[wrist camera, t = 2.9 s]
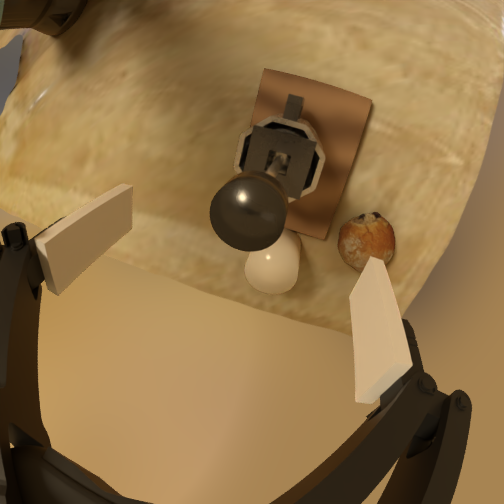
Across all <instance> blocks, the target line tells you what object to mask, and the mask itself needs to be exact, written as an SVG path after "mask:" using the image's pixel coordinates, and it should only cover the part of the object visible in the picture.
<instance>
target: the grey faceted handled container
mask: <svg viewBox="0 0 504 504" xmlns="http://www.w3.org/2000/svg"><path fill="white" fill-rule="evenodd" d="M304 101H305V99H304V97H300V96H296V95H293V94H289V95H288V98H287V102H286V106H285V110H284V114H282V113H281V114H276V115H272V116H269V117H268V118H266V119H264V120H262V121H261V122H259V123H257V124H256V125H254V126H252V127H251V128H249V129H247V130H246V131H244V132H242V133H241V134H240V137H239V141H238V146H237V151H236V156H235V160H234V165H233V166H235V167H234V169H235V170H236V172H237V174H239V173H241V172H244V171H251V170H255V171H262V172H266V171H267V169H265V168H266V164H267V160H268V156H269V152H270V150H273V151H277V152H280V153H284V154H287V155H291V158H290V162H289V166H288V169H287V173H286V174H283V173H280V172H278V174H277V176H276V179H277V180H278V181H279V182H280V183H281V184H282V186H283V187H284V189H285V191H286V193H287V196H288V201H289V203H290V202H292V201H294V200H296V199H297V200H300V197H302V196H304V195H306V194H309V193H311V192H313V191H315V190H314V189H316V186H317V183H318V180H319V177H320V174H321V171H322V168H323V165H324V162H325V154H324V150H323V146H322V143H321V142H320V140H319V138H318V135H317V133H316V131H315V130H314V128H313V127H312V126H311V124H310V123H309V121H308V120H304V119H302V118H300V116H301V112H302V109H303V105H304ZM274 128H285V129H289V130H292V131H294V132H296V133H297V134H299V135H300V136H297V135H294V134H290V133H287V132H283V131H279V130H275V129H274ZM310 165H311V167H310ZM309 168H310V170H309ZM308 171H309V173H308Z"/></svg>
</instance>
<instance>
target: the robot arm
mask: <svg viewBox="0 0 504 504" xmlns="http://www.w3.org/2000/svg"><path fill="white" fill-rule="evenodd" d="M86 3H87V0H0V30H5V29H19V28H33V29H35V30H37V31H39V32H41V33H44V34H46V35H59V34H61V33H63V32H65V31H66V30H67V29H69V28H70V27H71V26H72V25H73V24H74V22H75V21H76V20H77V19H78V17H79V16H80V14H81V13H82V11H83V9H84V7H85V5H86ZM132 193H133V186H131V185H127V184H123V183H122V184H120V185H118V186H116V187H115V188H113V189H111V190H109V191H107V192H106V193H104V194H102V195H100V196H99V197H97V198H95V199H94V200H92V201H90V202H89V203H87V204H85V205H84V206H82V207H80V208H79V209H77V210H76V211H74V212H72V213H71V214H69V215H68V216H65V217H63V218H61V219H59V220H58V221H56V222H54V224H52V225H50V226H49V227H48V228H46V229H44V230H43V231H41V232H40V233H39V234H37V235H36V236H34V237H33V238H32V239H30V240H28V236H27V231H26V226H25V224H24V223H22V222H15V223H11V224H9V225H8V226H6V227H5V228H4V229H3V230H2V231H1V233H2V237H3V241H4V245H1V242H0V504H153V503H148V502H143V501H139V500H134V499H130V498H126V497H123V496H122V495H120V494H119V493H118V492H116V491H115V490H114V489H113V488H112V487H110V486H109V485H108V484H107V483H105V482H104V481H103V480H102V479H101V478H100V477H98V476H96V475H95V474H93V473H91V472H90V471H88V470H86V469H85V468H83V467H81V466H80V465H78V464H77V463H75V462H73V461H72V460H70V459H68V458H67V457H65V456H63V455H62V454H60V453H59V452H57V451H56V450H54V449H52V448H51V444H50V439H49V436H48V434H47V431H46V430H45V428H44V426H43V423H42V419H41V411H40V401H39V388H38V363H37V362H38V360H37V359H38V357H37V356H38V351H37V350H38V327H39V313H40V303H41V294H42V286H41V283H42V282H43V281H44V280H45V282H46V285H47V288H48V290H49V291H51V292H53V293H54V294H56V295H58V296H59V294H61V293H62V291H64V290H65V289H66V288H67V287H68V286H69V285H70V284H71V283H72V282H73V281H74V280H75V279H76V278H77V277H78V276H79V275H80V274H81V273H82V272H83V271H85V270H86V269H87V268H88V267H89V266H90V265H91V264H92V263H93V262H94V261H95V260H96V259H97V258H99V257H100V256H101V255H102V254H103V253H104V252H106V251H107V250H108V249H109V248H110V247H111V246H112V245H114V244H115V243H116V242H117V241H118V240H119V239H121V238H122V237H123V236H124V235H125V234H127V233H128V232H129V231H130V230H131V229H132ZM349 300H350V310H351V321H352V333H353V347H354V362H355V363H354V365H355V398H356V399H355V401H356V402H361V403H369V404H372V403H373V402H374V401H376V400H377V399H378V398H379V397H380V406H379V407H377V408H376V409H375V410H374V411H372V412H371V413H370V414H369V415H368V416H366V417H367V419H366V421H365V422H364V423H363V424H362V425H361V426H360V427H359V428H358V429H357V430H356V431H355V432H354V433H353V434H352V435H351V436H350V437H349V438H348V439H347V440H346V441H345V442H344V443H343V444H342V445H341V446H340V447H339V448H338V449H337V450H336V451H335V452H334V453H333V454H332V455H331V456H330V457H328V458H327V459H326V460H325V461H324V462H323V463H322V464H321V465H319V466H318V467H317V468H316V469H315V470H314V471H313V472H311V473H310V474H309V475H308V476H306V477H305V478H304V479H303V480H301V481H300V482H299V483H297V484H296V485H295V486H294V487H292V488H291V489H290V490H289V491H287V492H285V493H284V494H283V495H281V496H280V497H279V498H277V499H276V500H274V501H273V502H271V503H270V504H361V503H362V502H363V501H364V500H365V499H366V498H367V497H368V496H369V494H370V493H371V492H372V491H373V490H374V488H375V487H376V486H377V485H378V484H379V482H381V480H382V479H383V478H384V477H385V475H386V474H387V473H388V472H389V470H390V469H391V468H392V466H393V465H394V464H395V462H396V461H397V460H398V462H397V464H396V466H395V469H394V471H393V473H392V475H391V478H390V479H389V481H388V484H387V486H386V488H385V490H384V491H383V493H382V496H381V497H380V499H379V501H378V503H377V504H451V501H452V498H453V495H454V492H455V489H456V486H457V482H458V479H459V475H460V471H461V467H462V463H463V459H464V454H465V450H466V445H467V439H468V433H469V427H470V419H471V412H472V404H471V401H470V398H469V397H468V395H467V394H466V393H465V392H464V391H462V390H455V391H454V392H453V393H452V394H451V395H449V396H448V395H446V394H444V393H442V392H440V391H438V390H437V385H436V382H435V380H434V379H433V378H432V377H431V376H430V375H429V374H427V373H425V372H424V370H423V365H422V361H421V357H420V353H419V349H418V347H417V346H418V345H417V341H416V340H415V334H414V330H413V328H412V327H411V325H410V323H409V322H408V320H405V319H402V318H401V315H400V312H399V308H398V305H397V302H396V298H395V295H394V292H393V289H392V285H391V282H390V279H389V276H388V273H387V270H386V267H385V265H384V262H383V260H380V259H377V258H374V257H372V256H370V258H369V260H368V262H367V264H366V266H365V268H364V270H363V272H362V274H361V275H360V277H359V279H358V281H357V283H356V285H355V287H354V288H353V290H352V292H351V294H350V296H349ZM10 443H12V444H13V446H14V448H10ZM398 458H399V459H398Z"/></svg>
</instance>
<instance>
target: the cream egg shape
mask: <svg viewBox="0 0 504 504" xmlns="http://www.w3.org/2000/svg"><path fill="white" fill-rule="evenodd" d="M300 251H301V240H300V237H299V235H298V234H297V232H296V231H293V230H290V229H287V228H284V230H283V232H282V234H281V236H280V238H279V239H278V240H277V241H276V242H275V243H274V244H273V245H271V246H270V247H268V248H266V249H263V250H260V251H254V252H250V254H249V256H248V259H247V261H246V264H245V268H244V272H245V276H246V279H247V281H248V282H249V283H250V285H251V286H252V287H254V288H255V289H257V290H258V291H260V292H263V293H266V294H281V293H284V292H287V291H288V290H290V289H291V288H292V287H293V286H294V285H295V283H296V281H297V278H298V270H299V261H300Z"/></svg>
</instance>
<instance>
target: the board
mask: <svg viewBox="0 0 504 504" xmlns="http://www.w3.org/2000/svg"><path fill="white" fill-rule="evenodd" d="M289 94H293V95H296V96H300V97H304V99H305V101H304V105H303V109H302V112H301V116H300V118H302V119H304V120H308V121H309V123H310V124H311V126H312V127H313V128H314V130H315V131H316V133H317V135H318V138H319V140H320V142H321V143H322V146H323V150H324V154H325V162H324V165H323V168H322V171H321V174H320V177H319V180H318V183H317V186H316V189H314V190H315V191H313V192H311V193H309V194H306V195H304V196H302V197H300V200H297V199H296V200H294V201H292V202H290V203H289V208H288V213H287V217H286V221H285V226H284V228H287V229H290V230H293V231H297V232H300V233H303V234H306V235H310V236H313V237H316V238H319V239H322V240H324V239H325V236H326V233H327V231H328V228H329V226H330V223H331V221H332V218H333V216H334V213H335V210H336V208H337V205H338V202H339V200H340V197H341V194H342V191H343V189H344V186H345V183H346V180H347V177H348V175H349V172H350V169H351V166H352V163H353V160H354V157H355V154H356V151H357V148H358V145H359V142H360V139H361V136H362V133H363V129H364V126H365V123H366V120H367V116H368V113H369V110H370V106H371V103H372V100H371V99H368V98H366V97H363V96H360V95H358V94H355V93H352V92H349V91H346V90H344V89H341V88H338V87H335V86H332V85H328V84H325V83H322V82H318V81H315V80H311V79H308V78H304V77H300V76H296V75H292V74H288V73H284V72H280V71H275V70H270V69H265V68H264V71H263V75H262V79H261V83H260V87H259V91H258V95H257V99H256V104H255V108H254V112H253V116H252V121H251V125H250V128H251V127H252V126H254V125H256V124H257V123H259V122H261V121H262V120H264V119H266V118H268V117H269V116H272V115H276V114H281V113H282V114H284V110H285V106H286V102H287V98H288V95H289Z"/></svg>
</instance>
